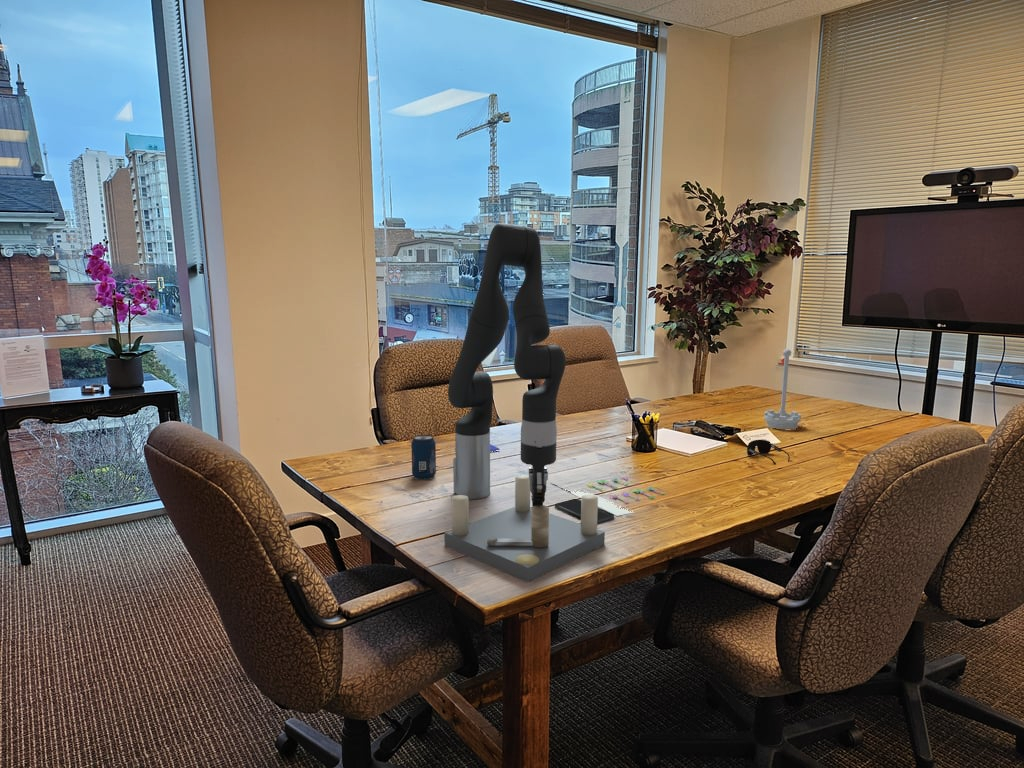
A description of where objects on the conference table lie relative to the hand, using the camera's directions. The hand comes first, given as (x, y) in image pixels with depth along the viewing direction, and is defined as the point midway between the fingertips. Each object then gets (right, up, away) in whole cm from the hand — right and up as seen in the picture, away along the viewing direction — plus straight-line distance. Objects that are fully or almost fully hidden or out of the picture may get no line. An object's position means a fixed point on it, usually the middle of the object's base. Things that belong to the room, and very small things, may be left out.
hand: (537, 517), depth 145 cm
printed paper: (+26, -1, +42) cm, 49 cm away
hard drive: (-17, +6, +79) cm, 81 cm away
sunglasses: (+77, +4, +72) cm, 105 cm away
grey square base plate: (-3, -7, +4) cm, 8 cm away
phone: (+13, -4, +24) cm, 27 cm away
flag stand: (+98, +12, +114) cm, 151 cm away
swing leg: (-4, -5, -4) cm, 7 cm away
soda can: (-31, +1, +52) cm, 60 cm away
